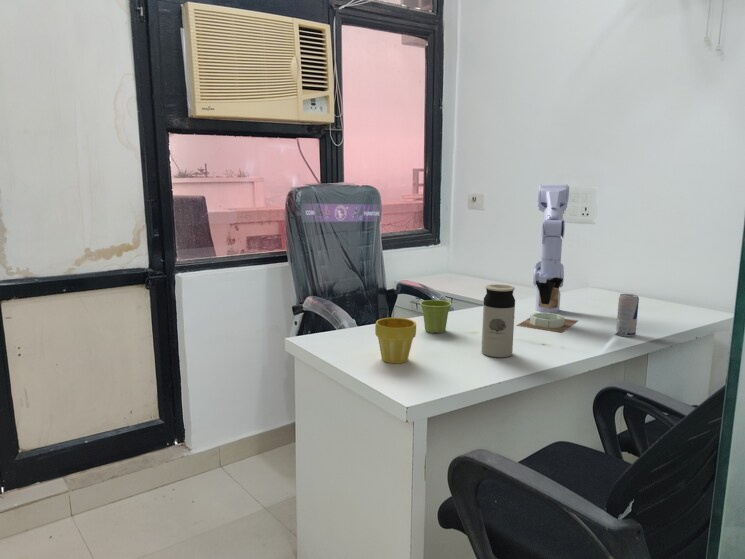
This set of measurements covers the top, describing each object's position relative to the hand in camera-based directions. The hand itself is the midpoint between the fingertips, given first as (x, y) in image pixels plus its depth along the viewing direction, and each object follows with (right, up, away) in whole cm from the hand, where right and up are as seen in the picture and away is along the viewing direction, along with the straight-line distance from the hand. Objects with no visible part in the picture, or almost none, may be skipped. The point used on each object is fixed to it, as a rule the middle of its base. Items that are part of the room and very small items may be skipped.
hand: (548, 302), depth 171 cm
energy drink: (+21, -10, -7) cm, 24 cm away
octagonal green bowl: (0, -7, +1) cm, 7 cm away
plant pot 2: (-36, -9, -4) cm, 37 cm away
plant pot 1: (-49, -13, -31) cm, 59 cm away
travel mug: (-22, -13, -26) cm, 36 cm away
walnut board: (+1, -8, +2) cm, 8 cm away
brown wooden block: (0, -1, 0) cm, 1 cm away
